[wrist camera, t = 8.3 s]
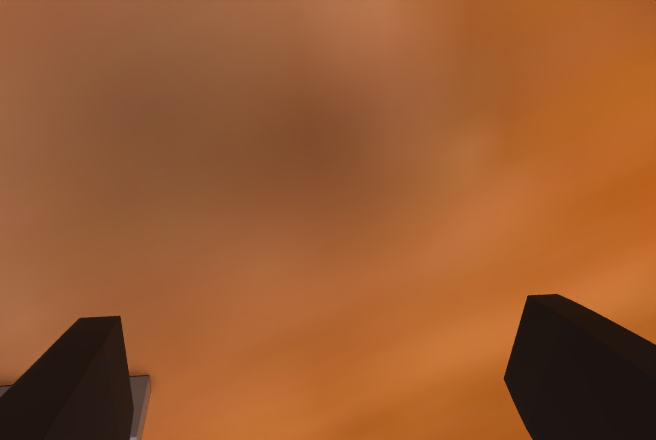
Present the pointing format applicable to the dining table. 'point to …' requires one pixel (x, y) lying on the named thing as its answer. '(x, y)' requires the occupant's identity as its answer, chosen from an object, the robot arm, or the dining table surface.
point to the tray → (140, 402)
